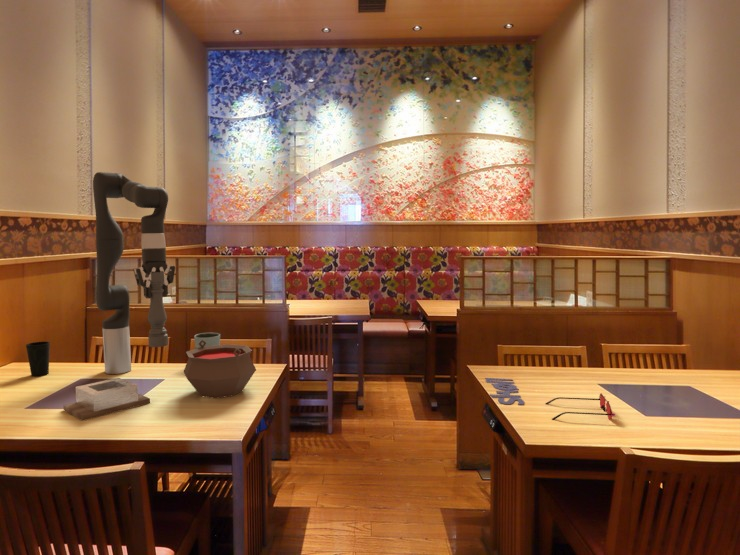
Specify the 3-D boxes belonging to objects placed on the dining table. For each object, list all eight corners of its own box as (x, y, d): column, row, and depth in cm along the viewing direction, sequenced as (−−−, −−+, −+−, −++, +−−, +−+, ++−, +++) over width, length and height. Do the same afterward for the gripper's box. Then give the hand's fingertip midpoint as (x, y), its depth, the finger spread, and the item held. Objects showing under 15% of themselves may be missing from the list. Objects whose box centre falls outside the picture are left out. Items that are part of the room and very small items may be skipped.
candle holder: (171, 343, 186) (168, 271, 183) (163, 347, 179) (159, 272, 177) (154, 343, 186) (150, 271, 184) (145, 347, 180) (141, 272, 178)
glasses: (615, 424, 146) (615, 406, 145) (551, 421, 149) (551, 403, 148) (603, 407, 159) (603, 391, 159) (545, 404, 162) (545, 388, 162)
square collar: (76, 402, 164) (75, 386, 164) (119, 392, 174) (118, 377, 174) (94, 411, 156) (93, 395, 155) (138, 400, 166) (137, 384, 165)
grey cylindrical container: (213, 360, 223) (212, 331, 222) (226, 364, 216) (225, 334, 215) (190, 364, 216) (189, 335, 215) (202, 368, 209) (201, 338, 208)
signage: (526, 404, 161) (492, 403, 162) (526, 406, 161) (492, 405, 162) (513, 378, 189) (484, 377, 190) (513, 380, 189) (484, 379, 190)
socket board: (63, 410, 162) (63, 405, 162) (129, 394, 177) (129, 390, 177) (82, 420, 153) (82, 415, 153) (150, 402, 168) (149, 398, 168)
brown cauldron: (169, 392, 179) (166, 344, 177) (231, 377, 196) (230, 333, 195) (207, 408, 163) (205, 355, 161) (271, 390, 180) (270, 342, 179)
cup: (55, 373, 205) (53, 342, 204) (34, 378, 199) (32, 346, 197) (45, 371, 209) (43, 340, 208) (24, 375, 203) (21, 344, 202)
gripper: (168, 246, 188) (170, 294, 189) (127, 247, 177) (129, 298, 178) (179, 246, 183) (181, 296, 184) (138, 248, 172) (140, 300, 173)
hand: (156, 297), depth 181 cm, fingers closed on candle holder, 5 cm apart
